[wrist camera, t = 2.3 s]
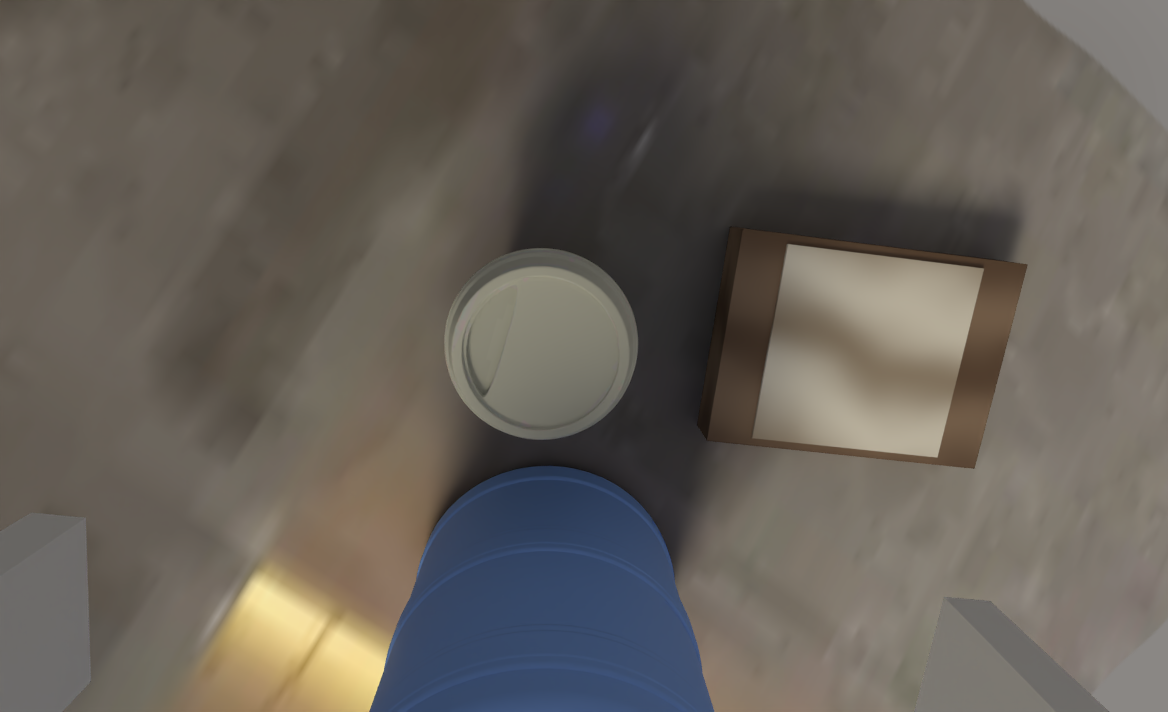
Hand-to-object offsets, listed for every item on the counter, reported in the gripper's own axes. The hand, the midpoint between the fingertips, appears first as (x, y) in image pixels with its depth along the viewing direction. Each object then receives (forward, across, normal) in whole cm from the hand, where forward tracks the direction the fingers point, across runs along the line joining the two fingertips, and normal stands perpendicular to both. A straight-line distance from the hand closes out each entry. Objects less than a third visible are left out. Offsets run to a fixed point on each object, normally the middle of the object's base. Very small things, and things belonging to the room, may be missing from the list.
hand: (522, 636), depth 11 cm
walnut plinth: (+31, +18, 0) cm, 36 cm away
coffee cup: (+31, 0, 0) cm, 31 cm away
